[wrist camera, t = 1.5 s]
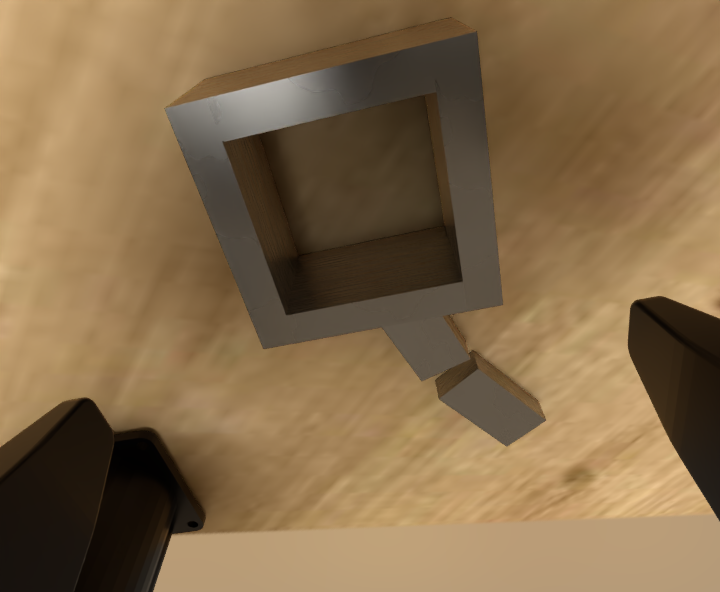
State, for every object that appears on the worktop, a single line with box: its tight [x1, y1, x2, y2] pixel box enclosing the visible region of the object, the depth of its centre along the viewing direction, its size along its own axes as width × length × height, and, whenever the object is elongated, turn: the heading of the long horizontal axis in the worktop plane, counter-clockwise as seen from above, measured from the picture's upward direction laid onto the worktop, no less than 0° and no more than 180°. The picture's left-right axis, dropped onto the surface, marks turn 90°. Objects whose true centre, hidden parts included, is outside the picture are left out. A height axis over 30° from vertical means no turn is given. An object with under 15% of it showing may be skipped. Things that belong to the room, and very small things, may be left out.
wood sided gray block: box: [435, 350, 546, 446], centre depth 21 cm, size 4×2×1 cm, turn 49°
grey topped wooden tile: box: [382, 315, 470, 381], centre depth 19 cm, size 4×2×1 cm, turn 32°
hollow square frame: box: [164, 17, 503, 349], centre depth 15 cm, size 7×7×4 cm
